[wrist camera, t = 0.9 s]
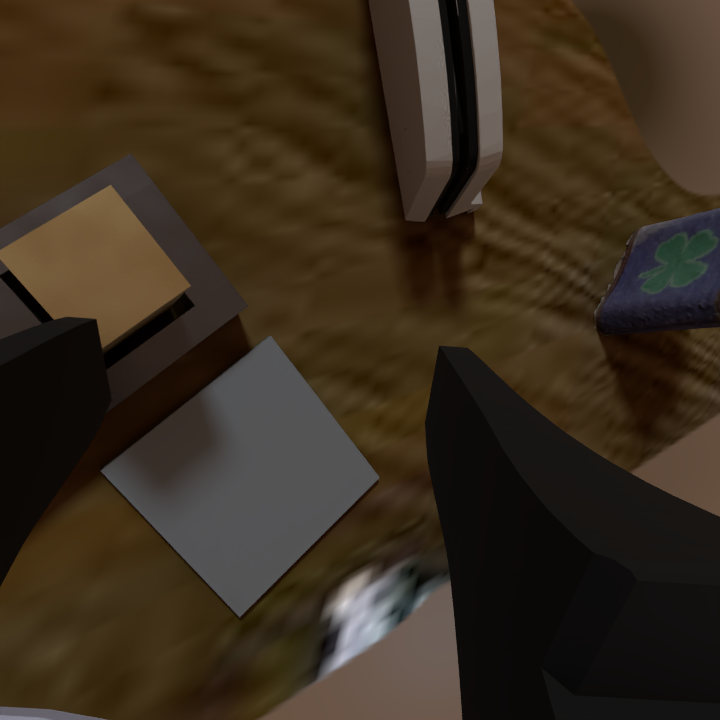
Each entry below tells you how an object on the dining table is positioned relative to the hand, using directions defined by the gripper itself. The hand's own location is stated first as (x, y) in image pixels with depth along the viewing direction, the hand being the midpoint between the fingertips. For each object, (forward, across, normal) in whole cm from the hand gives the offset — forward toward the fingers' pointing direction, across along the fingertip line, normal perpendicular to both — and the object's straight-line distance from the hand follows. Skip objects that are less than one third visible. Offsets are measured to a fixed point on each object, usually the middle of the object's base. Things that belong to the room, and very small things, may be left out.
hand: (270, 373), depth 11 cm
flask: (+27, -22, +7) cm, 35 cm away
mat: (+11, +3, +13) cm, 17 cm away
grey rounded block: (+26, -3, -5) cm, 26 cm away
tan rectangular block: (+12, +10, +5) cm, 16 cm away
